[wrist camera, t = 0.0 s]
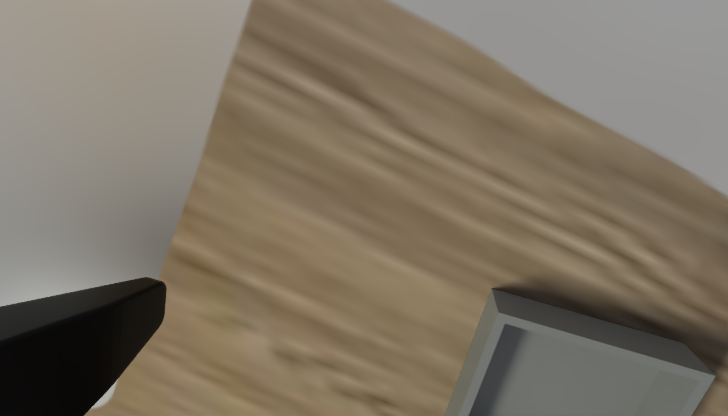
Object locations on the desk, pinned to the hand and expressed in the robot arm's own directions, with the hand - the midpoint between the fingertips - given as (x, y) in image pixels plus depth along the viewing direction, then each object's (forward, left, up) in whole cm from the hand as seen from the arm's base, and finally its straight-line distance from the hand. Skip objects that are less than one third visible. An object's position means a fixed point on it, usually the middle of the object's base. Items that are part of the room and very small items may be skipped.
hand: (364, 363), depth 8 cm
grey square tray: (-9, -11, -15) cm, 21 cm away
